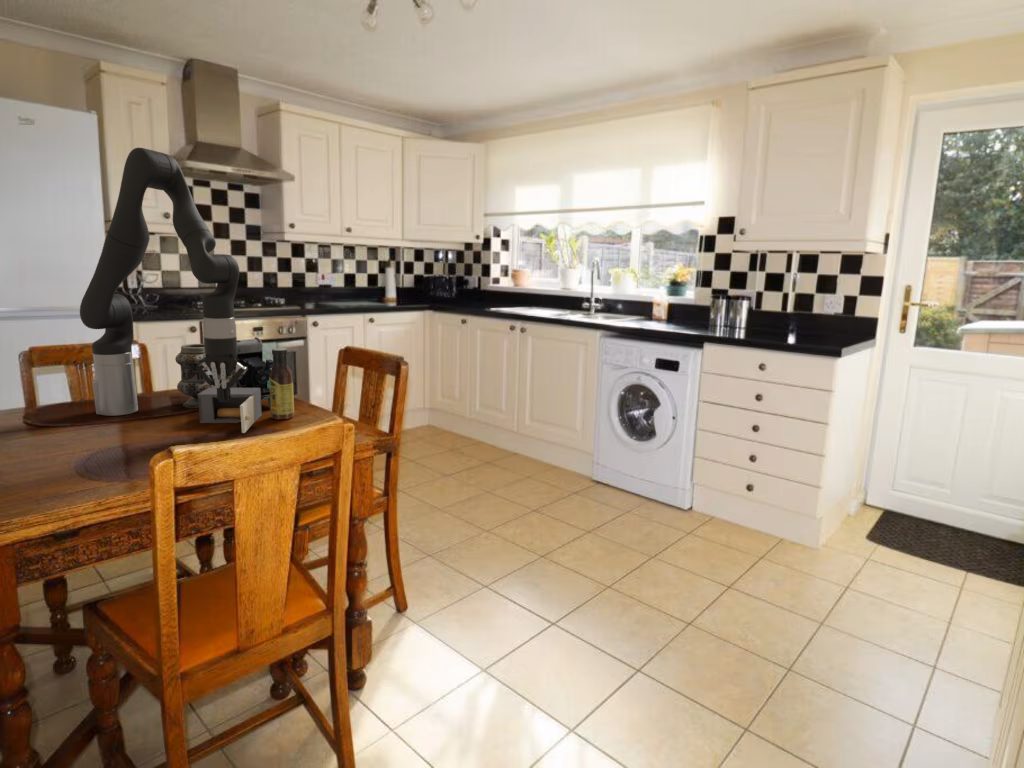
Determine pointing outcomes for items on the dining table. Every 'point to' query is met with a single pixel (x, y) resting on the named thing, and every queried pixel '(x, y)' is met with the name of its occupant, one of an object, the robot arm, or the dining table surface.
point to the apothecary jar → (191, 373)
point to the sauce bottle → (281, 386)
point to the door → (247, 414)
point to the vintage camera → (253, 367)
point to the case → (226, 405)
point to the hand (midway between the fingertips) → (224, 401)
